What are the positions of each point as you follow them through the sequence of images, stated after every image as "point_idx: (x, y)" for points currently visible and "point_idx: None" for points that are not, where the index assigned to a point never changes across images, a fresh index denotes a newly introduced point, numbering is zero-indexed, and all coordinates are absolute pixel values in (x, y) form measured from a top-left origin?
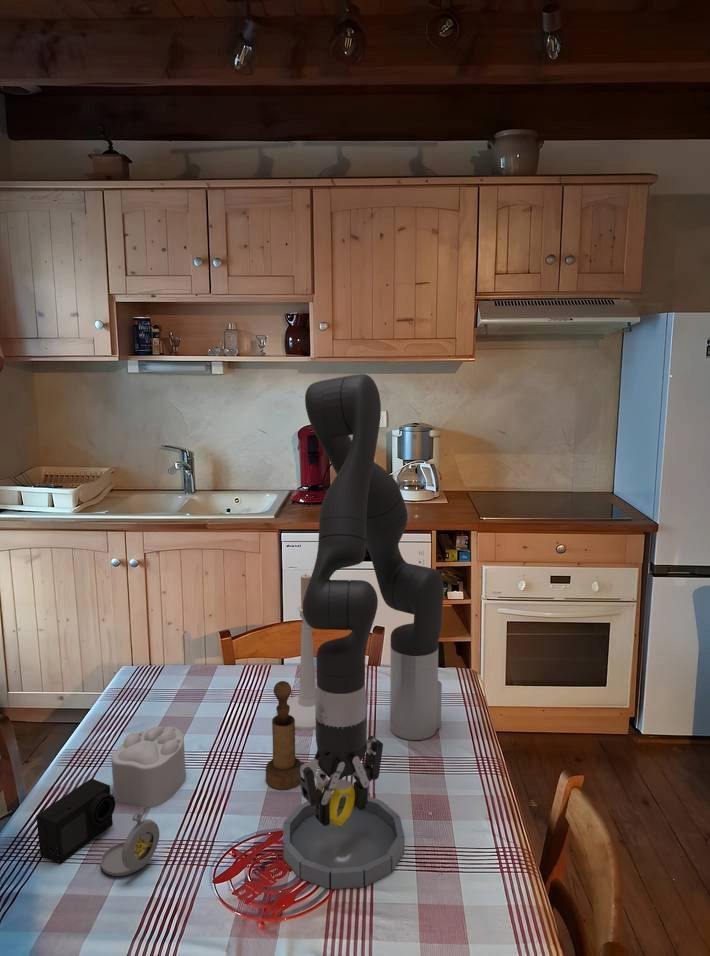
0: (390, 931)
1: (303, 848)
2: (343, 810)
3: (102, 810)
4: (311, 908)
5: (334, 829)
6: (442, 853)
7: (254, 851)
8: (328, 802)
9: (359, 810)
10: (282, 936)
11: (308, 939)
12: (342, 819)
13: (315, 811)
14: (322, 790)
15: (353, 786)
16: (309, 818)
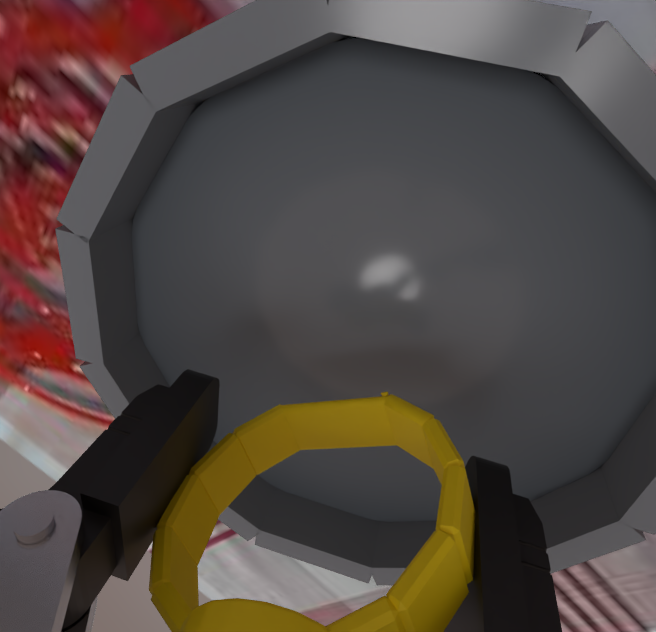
0: (227, 579)
1: (197, 240)
2: (392, 408)
3: None
4: (102, 420)
5: (403, 261)
6: (582, 608)
7: (13, 38)
8: (126, 572)
9: (654, 263)
10: (3, 415)
11: (56, 463)
12: (329, 437)
13: (111, 427)
14: (72, 582)
15: (483, 586)
16: (374, 67)
